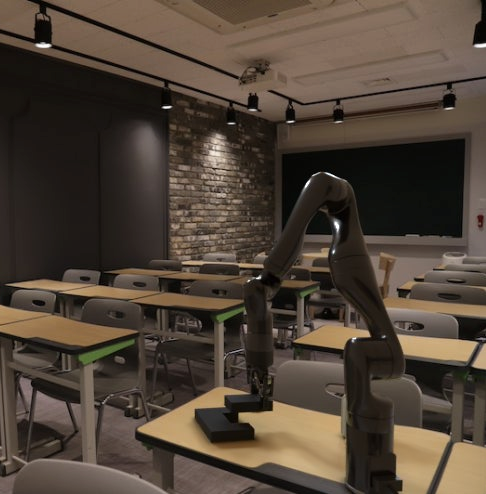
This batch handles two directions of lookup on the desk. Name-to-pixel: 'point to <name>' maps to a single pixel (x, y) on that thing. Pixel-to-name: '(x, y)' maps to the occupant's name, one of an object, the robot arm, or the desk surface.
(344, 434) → the photo printer
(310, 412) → the desk surface
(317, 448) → the desk surface
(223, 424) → the base pad
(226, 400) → the strip pad
